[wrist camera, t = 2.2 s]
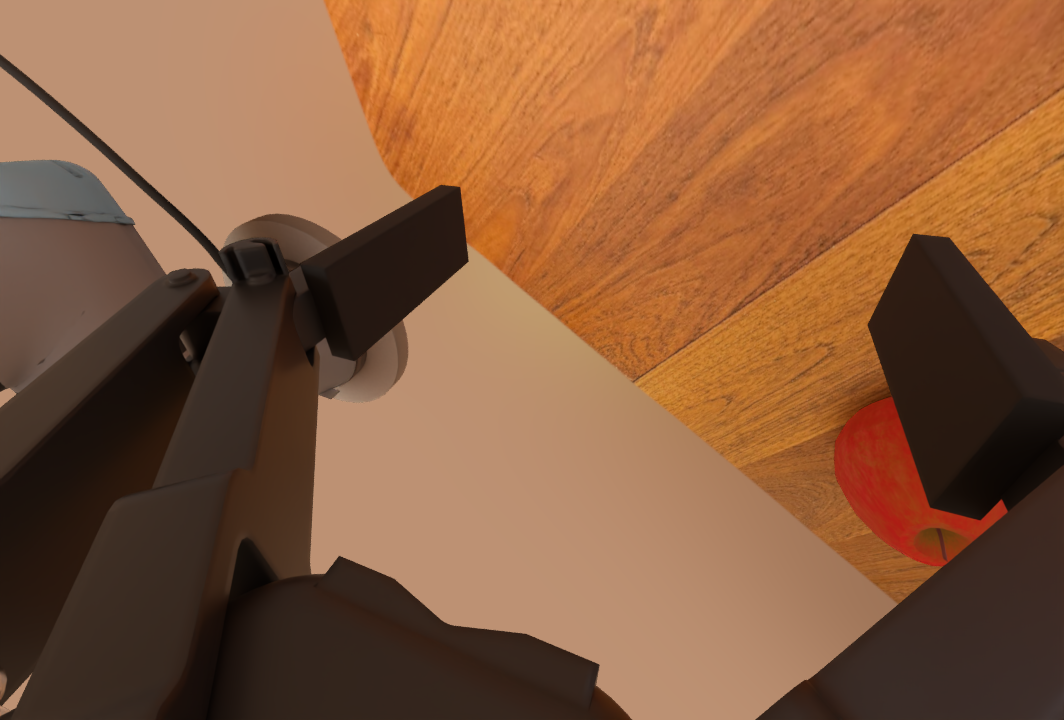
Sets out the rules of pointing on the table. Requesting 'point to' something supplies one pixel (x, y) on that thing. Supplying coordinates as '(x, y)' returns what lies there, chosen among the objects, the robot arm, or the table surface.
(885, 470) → the apple
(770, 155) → the table surface
